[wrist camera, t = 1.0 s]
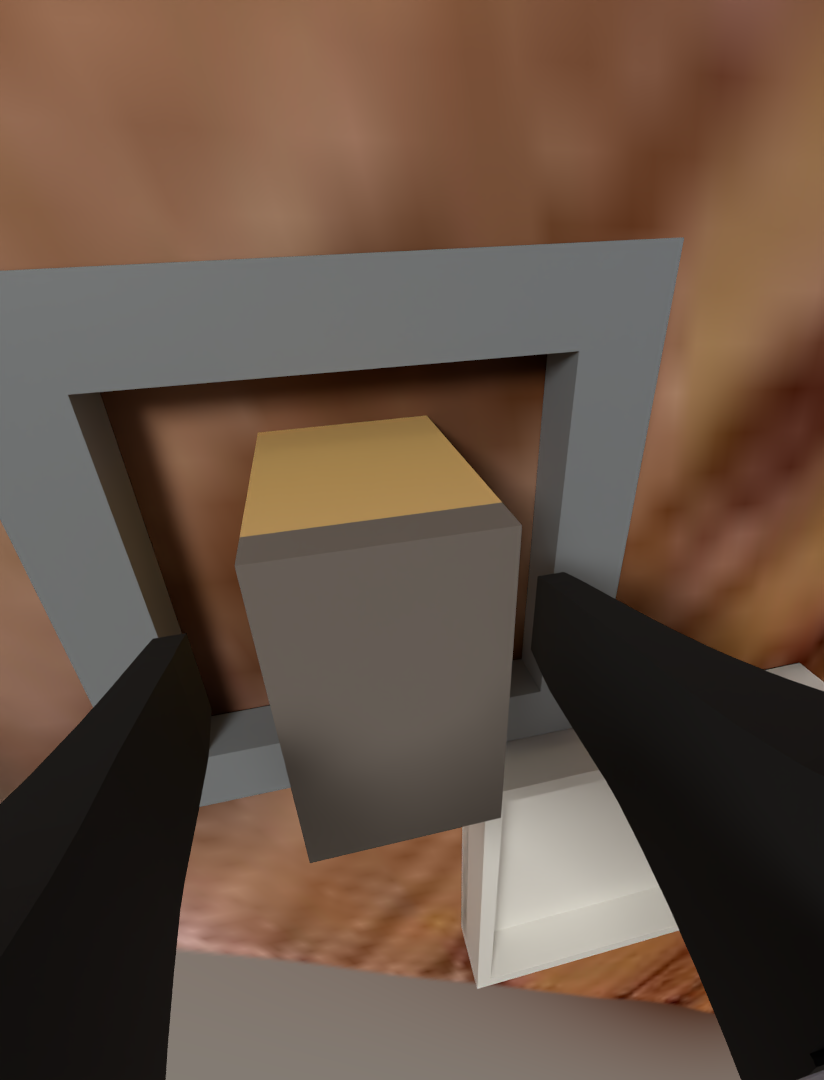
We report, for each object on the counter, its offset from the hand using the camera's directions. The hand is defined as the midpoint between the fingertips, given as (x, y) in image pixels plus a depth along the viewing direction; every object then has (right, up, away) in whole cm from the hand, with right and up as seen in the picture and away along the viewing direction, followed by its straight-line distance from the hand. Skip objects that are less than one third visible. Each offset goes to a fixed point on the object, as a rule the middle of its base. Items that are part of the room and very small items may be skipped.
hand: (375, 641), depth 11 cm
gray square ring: (-1, +2, +3) cm, 4 cm away
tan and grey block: (-1, +2, +3) cm, 4 cm away
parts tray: (+10, -10, +12) cm, 18 cm away
